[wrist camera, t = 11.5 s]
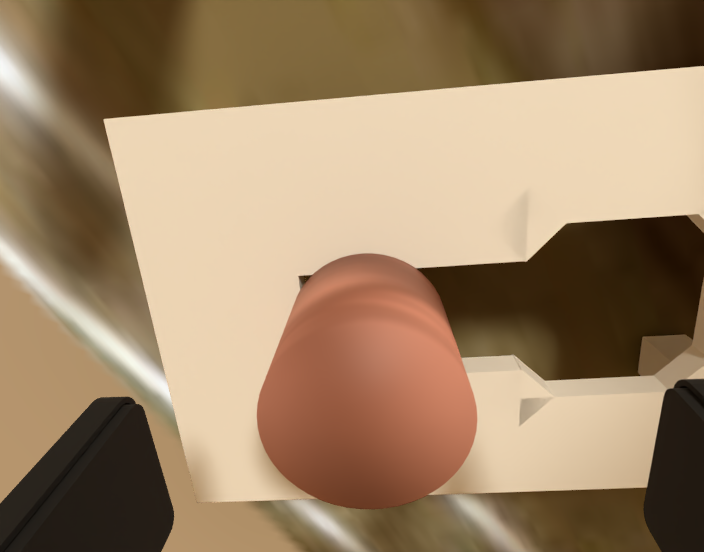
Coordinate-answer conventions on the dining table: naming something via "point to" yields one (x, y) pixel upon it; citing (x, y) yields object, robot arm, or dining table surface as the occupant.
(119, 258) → the dining table surface
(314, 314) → the peg
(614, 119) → the keyhole plate
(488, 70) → the dining table surface
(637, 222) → the dining table surface
